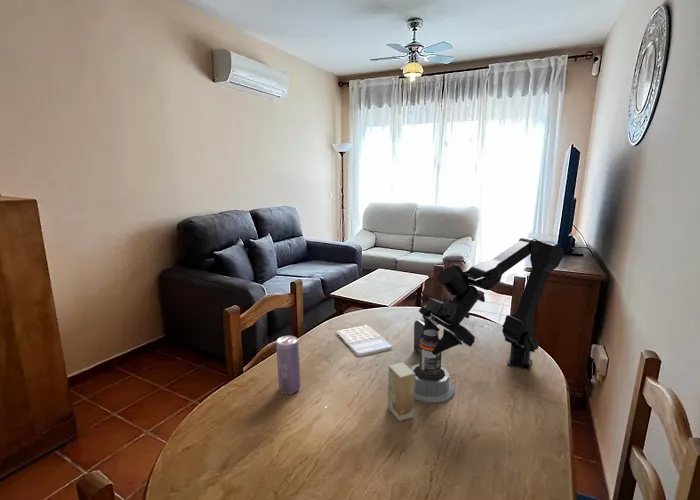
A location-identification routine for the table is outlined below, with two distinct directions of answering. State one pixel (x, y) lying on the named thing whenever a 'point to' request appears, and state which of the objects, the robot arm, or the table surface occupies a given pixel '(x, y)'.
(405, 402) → the skincare box
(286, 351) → the beverage can
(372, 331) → the calculator
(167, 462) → the table surface
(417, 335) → the battery charger
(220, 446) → the table surface
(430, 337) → the supplement bottle
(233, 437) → the table surface
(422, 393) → the grey round holder
